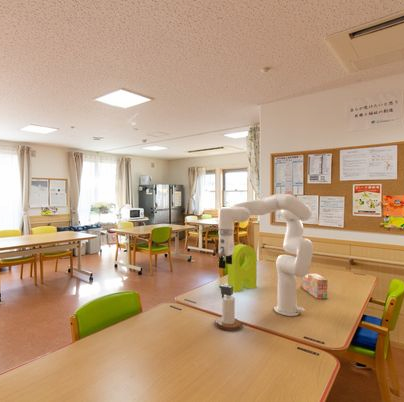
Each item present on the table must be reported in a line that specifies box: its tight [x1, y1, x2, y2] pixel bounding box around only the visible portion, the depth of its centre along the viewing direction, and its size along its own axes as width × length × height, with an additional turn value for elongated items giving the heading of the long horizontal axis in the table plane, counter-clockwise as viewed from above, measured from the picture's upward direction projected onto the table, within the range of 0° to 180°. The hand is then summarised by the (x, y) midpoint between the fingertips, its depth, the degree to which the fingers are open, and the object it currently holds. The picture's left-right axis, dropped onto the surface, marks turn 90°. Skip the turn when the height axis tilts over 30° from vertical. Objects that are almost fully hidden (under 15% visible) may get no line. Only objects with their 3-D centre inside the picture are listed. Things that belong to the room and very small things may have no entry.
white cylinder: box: [216, 283, 241, 329], centre depth 145 cm, size 12×12×19 cm
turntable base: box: [214, 319, 243, 332], centre depth 146 cm, size 13×13×1 cm
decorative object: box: [227, 243, 258, 293], centre depth 199 cm, size 20×7×30 cm, turn 118°
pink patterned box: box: [300, 273, 329, 300], centre depth 190 cm, size 21×6×12 cm, turn 179°
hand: (225, 265), depth 146 cm, fingers open, 9 cm apart
